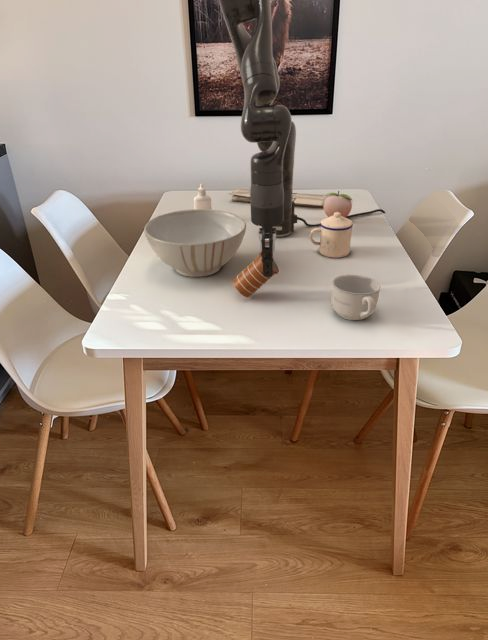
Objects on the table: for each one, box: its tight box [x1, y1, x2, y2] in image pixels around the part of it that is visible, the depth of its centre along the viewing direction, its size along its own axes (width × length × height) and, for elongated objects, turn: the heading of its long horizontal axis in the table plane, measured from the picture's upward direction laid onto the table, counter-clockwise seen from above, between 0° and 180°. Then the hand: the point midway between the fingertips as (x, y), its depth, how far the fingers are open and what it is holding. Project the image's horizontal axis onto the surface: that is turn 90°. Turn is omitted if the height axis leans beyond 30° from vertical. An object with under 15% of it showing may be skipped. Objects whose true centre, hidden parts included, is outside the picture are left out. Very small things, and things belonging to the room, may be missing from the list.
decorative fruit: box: [323, 190, 353, 217], centre depth 181 cm, size 9×8×10 cm
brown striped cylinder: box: [232, 251, 280, 299], centre depth 135 cm, size 10×6×6 cm
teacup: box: [330, 274, 381, 321], centre depth 127 cm, size 14×11×8 cm
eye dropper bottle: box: [193, 183, 213, 210], centre depth 183 cm, size 4×6×12 cm
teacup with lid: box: [308, 212, 354, 259], centre depth 159 cm, size 12×9×12 cm
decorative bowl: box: [143, 208, 247, 278], centre depth 151 cm, size 27×27×12 cm
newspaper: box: [227, 188, 329, 208], centre depth 201 cm, size 35×12×4 cm, turn 76°
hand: (268, 269), depth 134 cm, fingers closed on brown striped cylinder, 6 cm apart
